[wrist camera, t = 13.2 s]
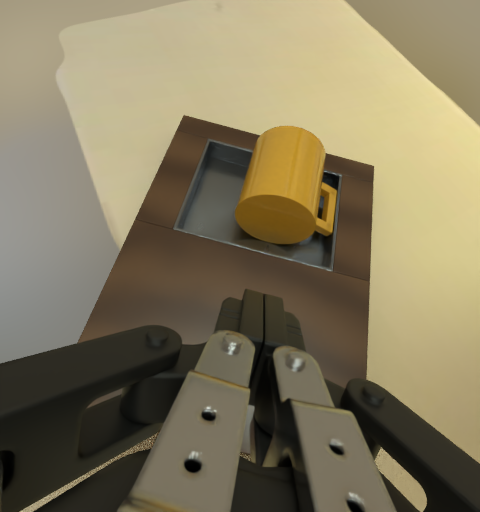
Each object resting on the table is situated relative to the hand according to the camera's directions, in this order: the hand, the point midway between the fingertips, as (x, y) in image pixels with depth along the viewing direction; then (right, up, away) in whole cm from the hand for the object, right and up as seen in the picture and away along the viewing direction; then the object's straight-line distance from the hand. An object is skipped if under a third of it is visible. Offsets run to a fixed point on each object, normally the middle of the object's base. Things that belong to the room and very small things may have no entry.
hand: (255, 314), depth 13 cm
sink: (+2, +7, +22) cm, 23 cm away
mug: (+4, +5, +17) cm, 18 cm away
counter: (0, +1, +18) cm, 18 cm away
